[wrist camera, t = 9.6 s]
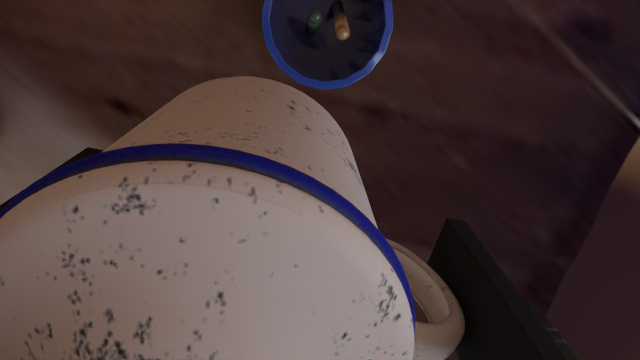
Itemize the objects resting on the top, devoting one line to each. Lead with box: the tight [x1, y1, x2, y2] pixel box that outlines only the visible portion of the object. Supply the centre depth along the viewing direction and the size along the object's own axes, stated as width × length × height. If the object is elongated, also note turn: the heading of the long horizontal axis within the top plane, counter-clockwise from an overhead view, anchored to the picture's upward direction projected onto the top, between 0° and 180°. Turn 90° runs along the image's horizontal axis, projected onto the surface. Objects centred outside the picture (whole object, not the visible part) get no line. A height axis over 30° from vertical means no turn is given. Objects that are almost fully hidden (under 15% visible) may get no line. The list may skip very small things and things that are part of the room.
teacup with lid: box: [0, 76, 465, 360], centre depth 11 cm, size 12×9×12 cm
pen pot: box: [261, 0, 393, 90], centre depth 27 cm, size 8×8×10 cm
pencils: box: [305, 0, 350, 41], centre depth 26 cm, size 2×3×12 cm
